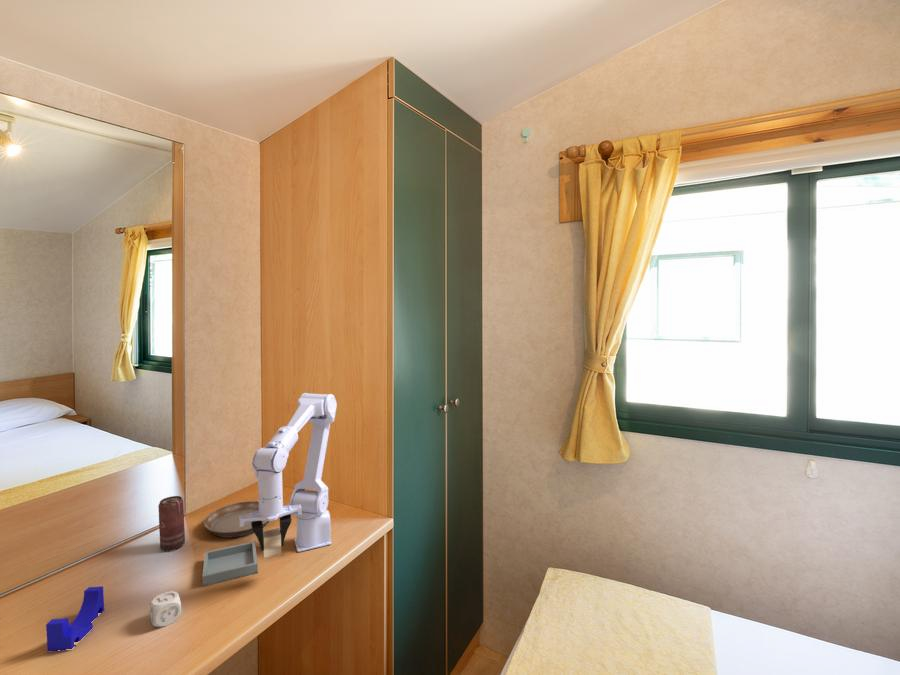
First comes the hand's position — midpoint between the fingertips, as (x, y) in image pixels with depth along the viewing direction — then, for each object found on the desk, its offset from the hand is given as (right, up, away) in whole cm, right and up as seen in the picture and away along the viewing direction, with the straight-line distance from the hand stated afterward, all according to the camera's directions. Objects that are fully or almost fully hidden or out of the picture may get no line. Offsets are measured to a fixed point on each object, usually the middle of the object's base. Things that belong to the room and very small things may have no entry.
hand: (272, 546), depth 112 cm
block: (0, -1, 0) cm, 1 cm away
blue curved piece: (-34, -10, -18) cm, 40 cm away
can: (-35, -8, +16) cm, 39 cm away
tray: (-13, -8, +6) cm, 17 cm away
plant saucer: (-22, -7, +29) cm, 37 cm away
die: (-18, -10, -14) cm, 25 cm away
